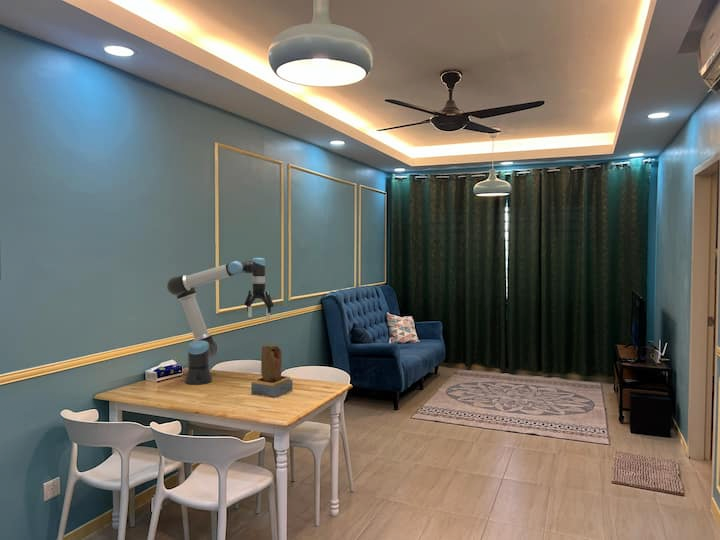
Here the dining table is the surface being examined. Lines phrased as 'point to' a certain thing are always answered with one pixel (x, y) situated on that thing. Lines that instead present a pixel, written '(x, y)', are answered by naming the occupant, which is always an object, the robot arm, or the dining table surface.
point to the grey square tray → (271, 387)
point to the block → (271, 363)
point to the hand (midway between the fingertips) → (258, 317)
